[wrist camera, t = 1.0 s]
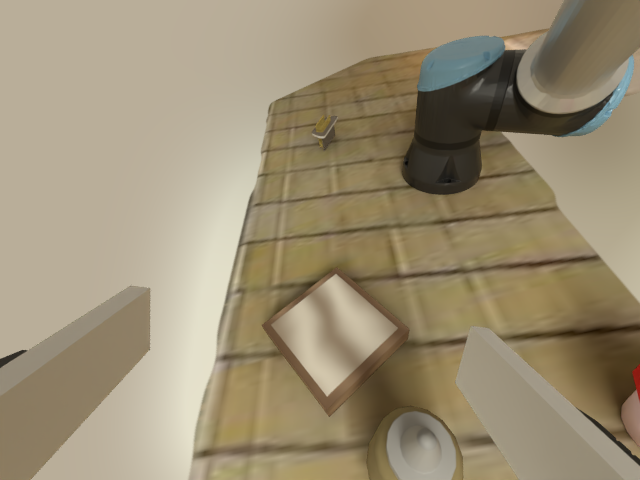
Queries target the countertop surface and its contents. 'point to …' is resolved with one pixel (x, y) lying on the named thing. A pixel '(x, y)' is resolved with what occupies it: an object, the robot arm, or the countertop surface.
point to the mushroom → (633, 410)
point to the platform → (325, 130)
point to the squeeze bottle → (414, 448)
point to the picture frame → (335, 337)
